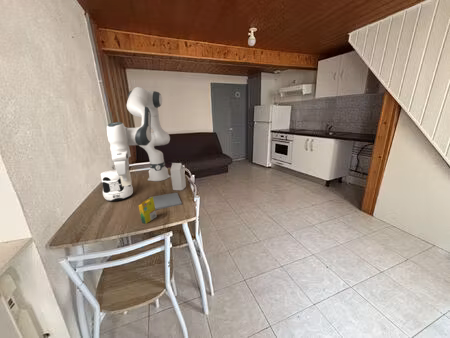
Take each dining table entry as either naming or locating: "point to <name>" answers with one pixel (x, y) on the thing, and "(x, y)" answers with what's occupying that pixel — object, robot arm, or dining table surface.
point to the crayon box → (147, 210)
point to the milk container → (114, 186)
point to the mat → (166, 200)
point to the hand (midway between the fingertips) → (126, 178)
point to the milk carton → (178, 176)
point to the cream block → (129, 181)
